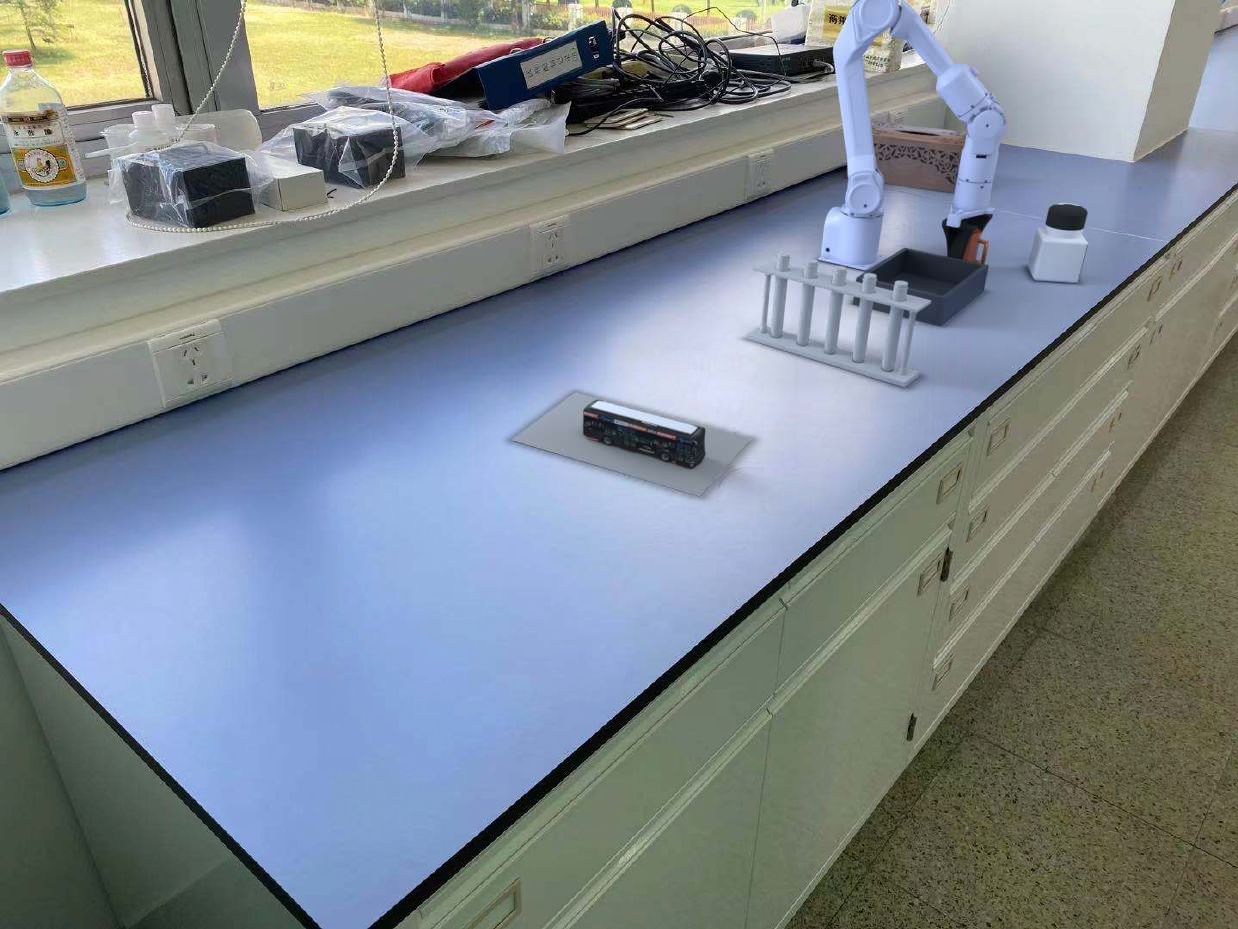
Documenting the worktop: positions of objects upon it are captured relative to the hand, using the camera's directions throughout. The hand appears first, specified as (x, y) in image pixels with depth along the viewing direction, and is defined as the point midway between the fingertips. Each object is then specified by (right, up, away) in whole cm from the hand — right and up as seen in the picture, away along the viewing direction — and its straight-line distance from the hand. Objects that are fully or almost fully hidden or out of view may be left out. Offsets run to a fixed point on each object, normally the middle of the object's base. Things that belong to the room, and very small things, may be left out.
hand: (960, 257), depth 166 cm
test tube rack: (-29, -21, -30) cm, 47 cm away
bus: (-58, -33, -51) cm, 84 cm away
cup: (0, -2, +1) cm, 2 cm away
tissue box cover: (+8, +30, +53) cm, 61 cm away
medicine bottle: (+15, -4, -1) cm, 16 cm away
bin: (-10, -9, -10) cm, 17 cm away
